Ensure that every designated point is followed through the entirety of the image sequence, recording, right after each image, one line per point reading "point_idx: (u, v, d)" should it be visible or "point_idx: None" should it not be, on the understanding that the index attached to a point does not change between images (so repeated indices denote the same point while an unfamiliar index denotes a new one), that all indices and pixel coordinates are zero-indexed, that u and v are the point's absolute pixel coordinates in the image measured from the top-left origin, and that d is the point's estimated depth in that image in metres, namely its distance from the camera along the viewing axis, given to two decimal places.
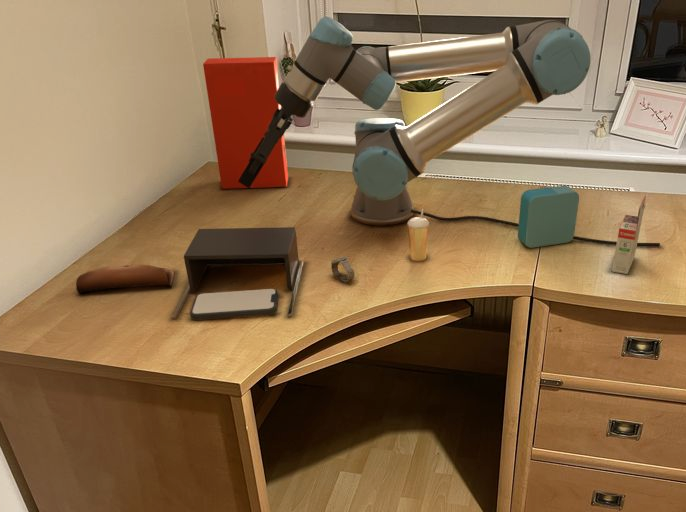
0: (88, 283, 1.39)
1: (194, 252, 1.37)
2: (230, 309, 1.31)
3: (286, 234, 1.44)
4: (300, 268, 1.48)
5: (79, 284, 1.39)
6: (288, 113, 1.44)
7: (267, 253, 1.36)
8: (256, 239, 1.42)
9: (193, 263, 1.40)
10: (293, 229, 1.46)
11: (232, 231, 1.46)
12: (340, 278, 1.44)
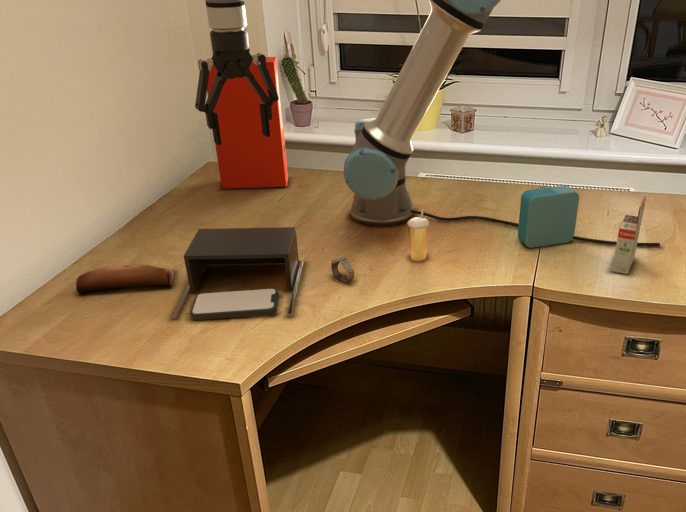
0: (88, 283, 1.39)
1: (194, 252, 1.37)
2: (230, 309, 1.31)
3: (286, 234, 1.44)
4: (300, 268, 1.48)
5: (79, 284, 1.39)
6: (214, 52, 1.42)
7: (267, 253, 1.36)
8: (256, 239, 1.42)
9: (193, 263, 1.40)
10: (293, 229, 1.46)
11: (232, 231, 1.46)
12: (340, 278, 1.44)
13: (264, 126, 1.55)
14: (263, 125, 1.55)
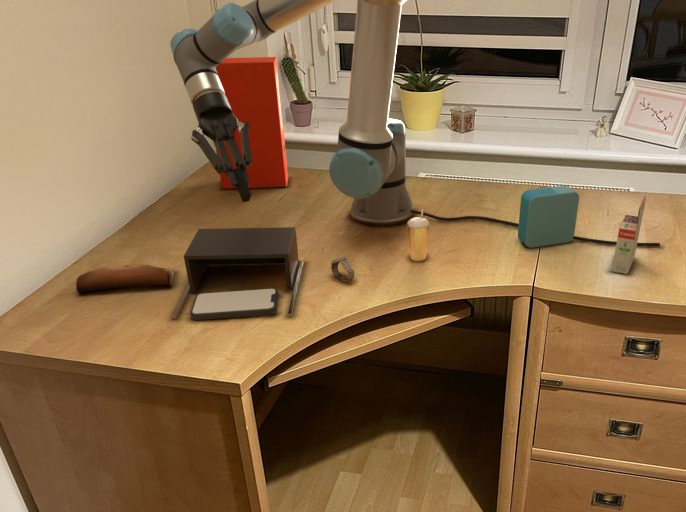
0: (88, 283, 1.39)
1: (194, 252, 1.37)
2: (230, 309, 1.31)
3: (286, 234, 1.44)
4: (300, 268, 1.48)
5: (79, 284, 1.39)
6: (198, 118, 1.48)
7: (267, 253, 1.36)
8: (256, 239, 1.42)
9: (193, 263, 1.40)
10: (293, 229, 1.46)
11: (232, 231, 1.46)
12: (340, 278, 1.44)
13: None
14: None
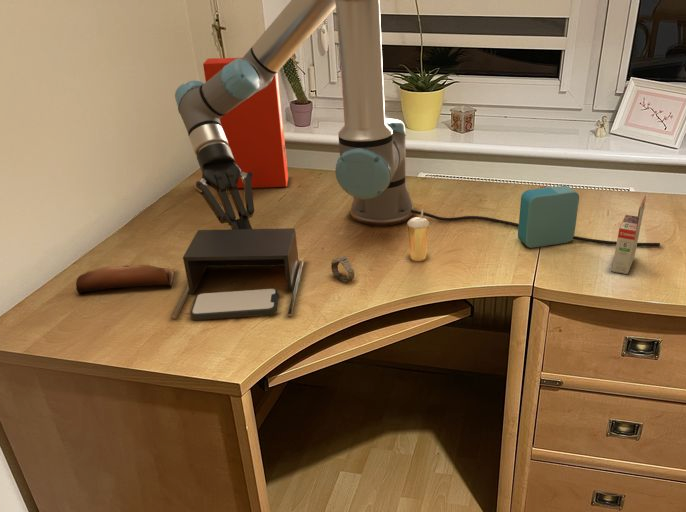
0: (88, 283, 1.39)
1: (194, 253, 1.37)
2: (230, 309, 1.31)
3: (286, 235, 1.44)
4: (300, 268, 1.48)
5: (79, 284, 1.39)
6: (202, 169, 1.51)
7: (267, 254, 1.36)
8: (256, 240, 1.42)
9: (192, 265, 1.39)
10: (293, 230, 1.46)
11: (232, 232, 1.45)
12: (340, 278, 1.44)
13: None
14: None
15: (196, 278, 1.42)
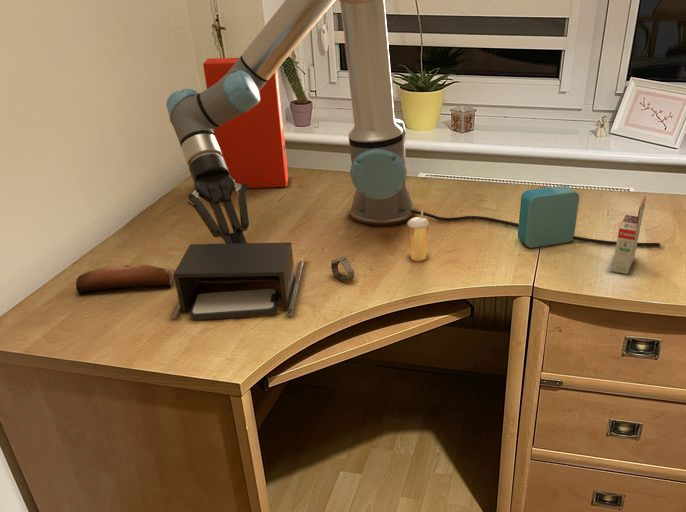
0: (88, 283, 1.39)
1: (185, 269, 1.31)
2: (230, 309, 1.31)
3: (282, 250, 1.38)
4: (300, 268, 1.48)
5: (79, 284, 1.39)
6: (194, 181, 1.45)
7: (261, 271, 1.30)
8: (250, 255, 1.36)
9: (184, 281, 1.33)
10: (289, 244, 1.40)
11: (225, 247, 1.39)
12: (340, 278, 1.44)
13: None
14: None
15: (188, 295, 1.36)
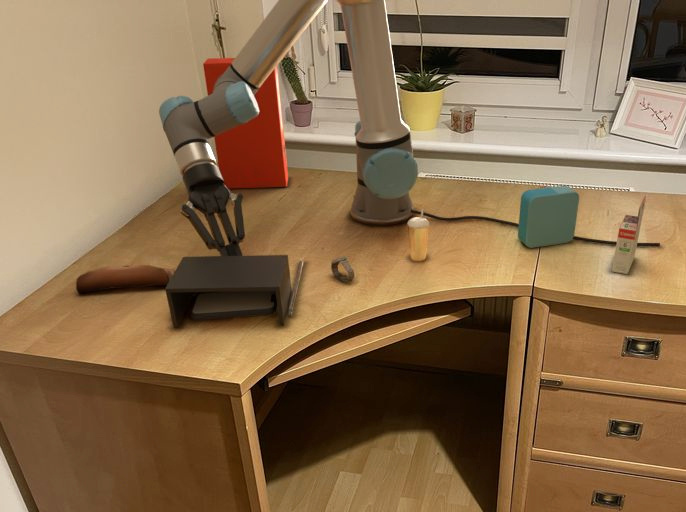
0: (88, 283, 1.39)
1: (177, 284, 1.26)
2: (230, 309, 1.31)
3: (278, 263, 1.33)
4: (300, 268, 1.48)
5: (79, 284, 1.39)
6: (188, 191, 1.40)
7: (256, 286, 1.25)
8: (245, 269, 1.31)
9: (176, 296, 1.28)
10: (285, 257, 1.35)
11: (219, 259, 1.34)
12: (340, 278, 1.44)
13: None
14: None
15: (180, 310, 1.31)
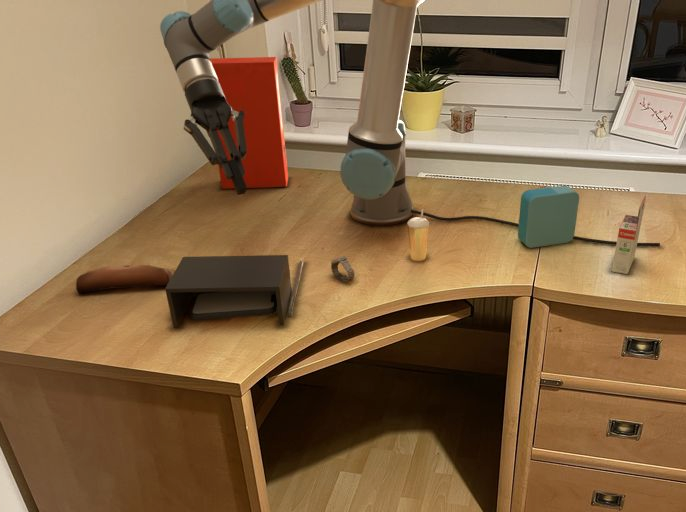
0: (88, 283, 1.39)
1: (177, 284, 1.26)
2: (230, 309, 1.31)
3: (278, 263, 1.33)
4: (300, 268, 1.48)
5: (79, 284, 1.39)
6: (191, 107, 1.42)
7: (256, 286, 1.25)
8: (245, 269, 1.31)
9: (176, 296, 1.28)
10: (285, 257, 1.35)
11: (219, 259, 1.34)
12: (340, 278, 1.44)
13: None
14: None
15: (180, 310, 1.31)
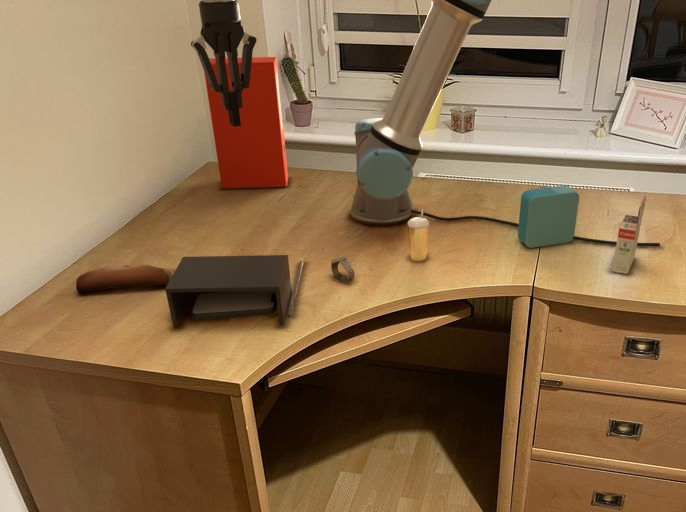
0: (88, 283, 1.39)
1: (177, 284, 1.26)
2: (230, 309, 1.31)
3: (278, 263, 1.33)
4: (300, 268, 1.48)
5: (79, 284, 1.39)
6: (203, 24, 1.34)
7: (256, 286, 1.25)
8: (245, 269, 1.31)
9: (176, 296, 1.28)
10: (285, 257, 1.35)
11: (219, 259, 1.34)
12: (340, 278, 1.44)
13: None
14: None
15: (180, 310, 1.31)
